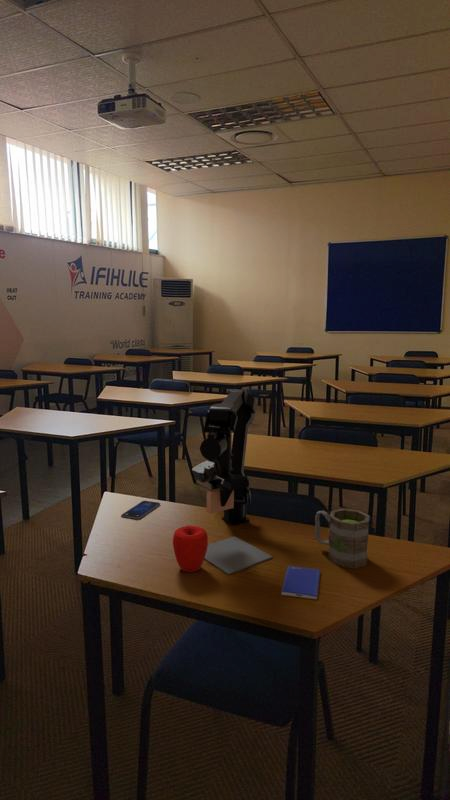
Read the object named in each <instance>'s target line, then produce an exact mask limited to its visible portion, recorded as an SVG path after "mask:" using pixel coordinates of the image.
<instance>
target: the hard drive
mask: <svg viewBox="0 0 450 800" xmlns="http://www.w3.org/2000/svg"><path fill="white" fill-rule="evenodd" d="M286 567H287V568H286V572H285V577H284V581H283V585H282V588H281V595H283V596H287V597H288V596H290V597H295V598H296V597H298V598H302V599H303V598H304V599H310V600H311V599H312V600H317V599H318V596H319V595H318V594H319V584H320V578H321V577H320V576H321V570H320V569H316V568H310V567H309V568H308V567H302V566H301V567H300V566H291V565H288V566H286Z"/></svg>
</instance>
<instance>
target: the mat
mask: <svg viewBox="0 0 450 800" xmlns="http://www.w3.org/2000/svg"><path fill="white" fill-rule="evenodd" d="M271 559H273V556H272V555H270V554H269V553H267V552H265V551H263V550H261V549H259V548H258V547H255V546H254V545H252V544H250V543H248V542H246V541H244V540H243V539H240V538H239V537H237V536H235V535H234V536H231V537H228V538H225V539H222V540H219V541H215V542H213V543H209V544H208V547H207V551H206V555H205V558H204V561H206V562H208V563H209V564H211V565H213V566H214V567H216V568H217V569H219V570H220V571H222V572H223V573H225V574H227V575H232V574H234V573H237V572H239V571H242V570H245V569H247V568H250V567H253V566H256V565H257V564H261V563H263V562H266V561H267V560H268V561H269V560H271Z"/></svg>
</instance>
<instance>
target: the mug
mask: <svg viewBox="0 0 450 800" xmlns="http://www.w3.org/2000/svg"><path fill="white" fill-rule="evenodd" d="M321 515H322V516H323V517H324V518H325V520H326V521H327V522H328V523H329V533H328V540H323V539H322V537H321V533H320V532H321V531H320V528H321V522H320V521H321V520H320V516H321ZM370 516H371V515H369V514H367V513H365V512H363V511H361V510H359V509H350V508H341V509H340V508H339V509H335V510H331V512H330V514H329V513H328V512H326V511H325V510H319V511H317V512H316V514H315V516H314V523H315V527H314V529H315V531H314V532H315V534H314V535H315V539H316V541H317V542H318V543H319V544H321V545H325V546H326V545H328V554H327V559H328V561H330V562H331V563H333V564H334V565H336V566H337V567H343V568H349V569H357V568H361V567H364V566H367V563H368V543H369V522H370V518H371V517H370Z"/></svg>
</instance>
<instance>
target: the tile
mask: <svg viewBox="0 0 450 800" xmlns="http://www.w3.org/2000/svg"><path fill="white" fill-rule="evenodd" d="M231 508H234V490H233V491H232V493H231V495H230V497H229V499H228V501H227V503H226V505H225V506H223V507H222V506H221V500H220V489H219V488H218V489H213V490H212V489H209V490H206V512H207V513H209V514H210V515H211V514H216V513H220V512H224V510H227V509H231Z"/></svg>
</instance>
